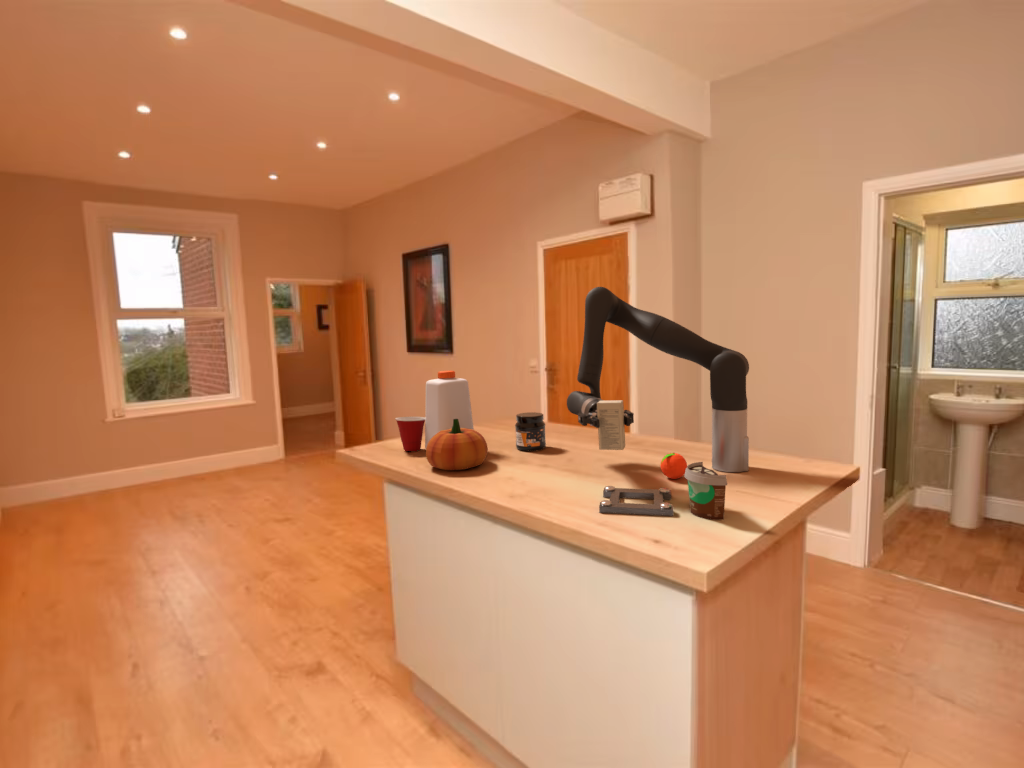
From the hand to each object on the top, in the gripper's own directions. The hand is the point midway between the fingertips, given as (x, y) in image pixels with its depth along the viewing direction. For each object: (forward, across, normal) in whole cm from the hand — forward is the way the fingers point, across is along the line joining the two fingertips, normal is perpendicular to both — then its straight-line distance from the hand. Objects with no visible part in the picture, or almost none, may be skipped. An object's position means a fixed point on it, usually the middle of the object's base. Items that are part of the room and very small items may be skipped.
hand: (613, 422), depth 133 cm
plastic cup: (-61, -56, +18) cm, 85 cm away
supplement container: (-53, -15, +18) cm, 58 cm away
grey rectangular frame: (+10, +2, +18) cm, 20 cm away
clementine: (-7, +18, +18) cm, 27 cm away
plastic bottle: (-58, -43, +18) cm, 74 cm away
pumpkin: (-35, -40, +18) cm, 56 cm away
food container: (+19, +14, +18) cm, 29 cm away
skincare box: (-2, 0, +7) cm, 8 cm away
